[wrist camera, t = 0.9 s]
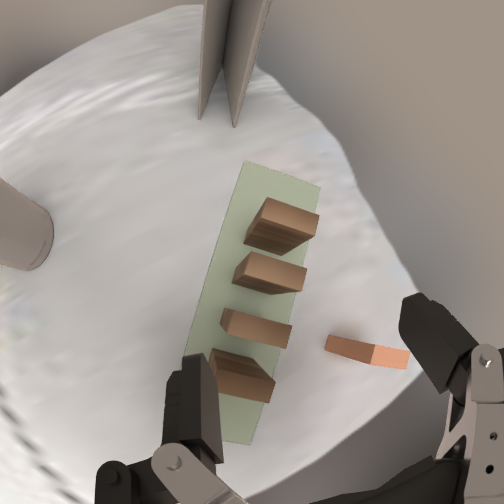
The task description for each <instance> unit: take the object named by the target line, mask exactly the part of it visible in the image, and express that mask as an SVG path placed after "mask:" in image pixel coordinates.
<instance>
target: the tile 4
mask: <svg viewBox="0 0 504 504" xmlns="http://www.w3.org/2000/svg"><path fill="white" fill-rule="evenodd" d="M306 272H307V268H304V267H301V266H298V265H295V264H291V263H288V262H285V261H282V260H279V259H276V258H272V257H269V256H266V255H263V254H260V253H257V252H253V251H251V252H250V253H249V254H248V255H247V256H246V257H245V258H244V259H243V260H242V261H241V262H240V264H239V265H238V266H237V267H236V269H235V272H234V276H233V279H232V284H235V285H238V286H242V287H245V288H248V289H252V290H255V291H259V292H262V293H265V294H269V295H276V294H284V293H292V292H299V291H302V288H303V284H304V280H305V276H306Z"/></svg>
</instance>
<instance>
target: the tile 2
mask: <svg viewBox="0 0 504 504" xmlns="http://www.w3.org/2000/svg"><path fill="white" fill-rule="evenodd" d="M208 363H209V366H210V368H211V370H212V372H213V374H214V376H215V378H216V382H217V386H218V393H222V394H226V395H231V396H235V397H240V398H244V399H249V400H254V401H259V402H264V403H269V402H270V399H271V395H272V392H273V389H274V386H275V383H276V382H275V381H274V380H273V379H272V378H271V377H270V376H269V375H268V374H267V373H266V372H265V371H264V370H263V368H262V367H261V366H260V365H259V364H258V363H257V362H256V361H255V360H254V359H253V358H250V357H246V356H242V355H238V354H234V353H230V352H226V351H223V350H219V349H215V348H212V351H211V354H210V358H209V362H208Z"/></svg>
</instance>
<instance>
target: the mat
mask: <svg viewBox="0 0 504 504" xmlns="http://www.w3.org/2000/svg"><path fill="white" fill-rule="evenodd" d="M319 192H320V187H319V186H316V185H314V184H311V183H308V182H306V181H303V180H300V179H298V178H295V177H292V176H289V175H287V174H284V173H281V172H278V171H275V170H272V169H269V168H267V167H264V166H261V165H258V164H255V163H252V162H249V161H244V164H243V167H242V170H241V173H240V175H239V178H238V181H237V184H236V187H235V190H234V193H233V196H232V199H231V202H230V205H229V208H228V211H227V214H226V217H225V220H224V223H223V226H222V229H221V232H220V236H219V239H218V242H217V245H216V248H215V251H214V254H213V258H212V261H211V264H210V267H209V270H208V274H207V277H206V280H205V284H204V287H203V290H202V294H201V297H200V300H199V304H198V307H197V310H196V314H195V317H194V321H193V324H192V328H191V331H190V335H189V338H188V342H187V345H186V349H185V353H184V356H186V355H192V354H197V353H203V354H204V355H205V357H206V359H207V361H208V362H209V358H210V354H211V351H212V348H215V349H219V350H223V351H226V352H230V353H234V354H238V355H242V356H246V357H250V358H253V359H254V360H255V361H256V362H257V363H258V364H259V365H260V366H261V367H262V368H263V370H264V371H265V372H266V373H267V374H268V375H269V376H270V377H271V378H272V376H273V373H274V370H275V366H276V363H277V360H278V356H279V353H280V349H281V348H280V347H276V346H272V345H268V344H264V343H260V342H256V341H252V340H248V339H244V338H240V337H237V336H233V335H229V334H227V333H226V332H225V330H224V329H223V328H222V327H221V325H220V324H219V323H220V320H221V317H222V313H223V310H224V308H228V309H232V310H236V311H239V312H243V313H246V314H250V315H254V316H257V317H261V318H264V319H268V320H272V321H276V322H279V323H283V324H287V325H288V321H289V317H290V314H291V310H292V306H293V302H294V299H295V295H296V292H292V293H284V294H276V295H269V294H265V293H262V292H259V291H255V290H252V289H248V288H245V287H242V286H238V285H235V284H232V279H233V276H234V272H235V269H236V267H237V266H238V265H239V264H240V262H241V261H242V260H243V259H244V258H245V257H246V256H247V255H248V254H249V253H250V252H251V251H253V252H257V253H260V254H263V255H266V256H269V257H272V258H276V259H279V260H282V261H285V262H288V263H291V264H295V265H298V266H301V267H303V263H304V259H305V255H306V251H307V246H308V242H309V240H307V241H306V242H304V243H302V244H301V245H299V246H298V247H296V248H294V249H293V250H291V251H289V252H288V253H286V254H284V255H283V256H280V255H276V254H273V253H270V252H267V251H264V250H261V249H258V248H254V247H251V246H248V245H245V244H243V242H244V239H245V236H246V232H247V229H248V227H249V226H250V224H251V222H252V221H253V219H254V217H255V216H256V214H257V212H258V211H259V209H260V208H261V206H262V204H263V203H264V201H265V199H266V198H267V197H269V198H272V199H275V200H278V201H281V202H284V203H287V204H289V205H292V206H295V207H298V208H301V209H303V210H306V211H309V212H312V213H314V214H315V211H316V206H317V202H318V197H319ZM180 370H182V364H181V367H180ZM218 394H219V409H220V423H221V436H222V441H227V442H232V443H238V444H244V445H250V443H251V440H252V438H253V435H254V432H255V429H256V426H257V423H258V420H259V417H260V414H261V411H262V408H263V405H264V402H259V401H254V400H249V399H244V398H240V397H235V396H231V395H226V394H222V393H218Z"/></svg>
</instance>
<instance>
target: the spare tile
mask: <svg viewBox="0 0 504 504" xmlns="http://www.w3.org/2000/svg"><path fill="white" fill-rule="evenodd" d="M325 350H327V351H330V352H332V353H335V354H338V355H341V356H345V357H348V358H351V359H354V360H357V361H360V362H363V363H367V364H370V365H376V366H383V367H390V368H397V369H405V370H406V367H407V363H408V359H409V356H410V352H411V351H406V350H400V349H395V348H390V347H384V346H379V345H374V344H369V343H364V342H359V341H354V340H349V339H344V338H339V337H335V336H330V335H329V336H328V339H327V343H326V347H325Z"/></svg>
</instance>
